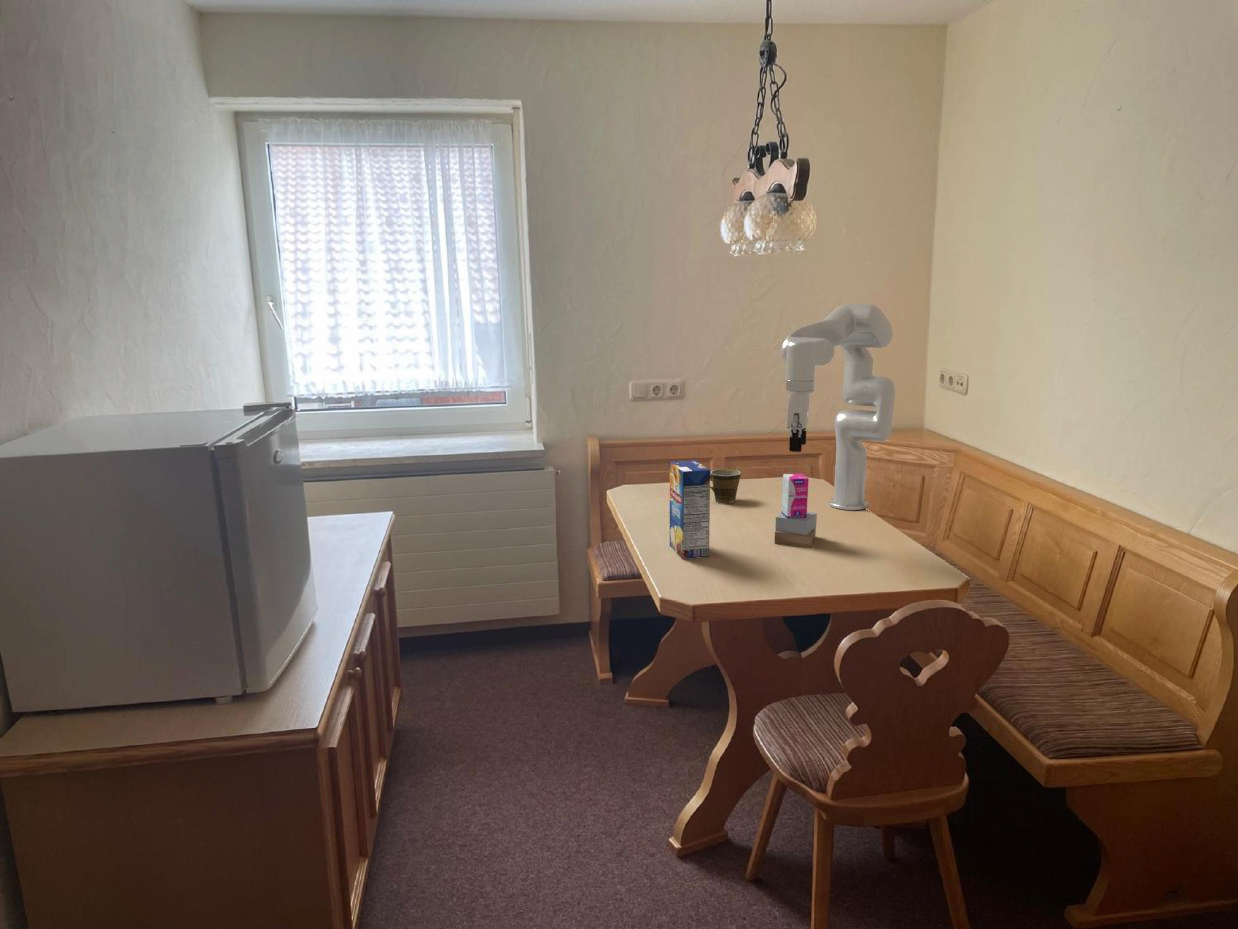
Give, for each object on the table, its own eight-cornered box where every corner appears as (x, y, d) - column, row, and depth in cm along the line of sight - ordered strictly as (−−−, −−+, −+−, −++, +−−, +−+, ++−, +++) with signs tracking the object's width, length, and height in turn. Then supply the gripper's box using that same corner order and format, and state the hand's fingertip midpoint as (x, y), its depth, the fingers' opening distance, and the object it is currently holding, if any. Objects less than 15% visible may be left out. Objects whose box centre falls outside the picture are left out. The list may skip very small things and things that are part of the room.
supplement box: (787, 518, 221) (788, 478, 219) (781, 512, 227) (782, 473, 225) (807, 517, 222) (808, 477, 219) (801, 512, 228) (802, 473, 225)
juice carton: (669, 545, 223) (669, 462, 218) (694, 543, 225) (695, 460, 220) (682, 559, 212) (683, 471, 207) (709, 557, 214) (710, 469, 208)
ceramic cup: (739, 497, 272) (740, 469, 270) (740, 505, 262) (741, 476, 260) (701, 497, 274) (701, 468, 271) (701, 504, 264) (701, 475, 262)
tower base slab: (780, 535, 233) (780, 522, 232) (815, 538, 229) (815, 525, 229) (774, 545, 224) (774, 532, 223) (810, 549, 220) (811, 535, 219)
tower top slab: (785, 522, 232) (786, 509, 231) (816, 526, 227) (816, 513, 226) (775, 530, 224) (775, 517, 223) (806, 535, 220) (807, 521, 219)
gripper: (790, 381, 226) (788, 441, 230) (781, 390, 210) (779, 453, 214) (817, 382, 223) (815, 442, 227) (810, 391, 207) (807, 455, 211)
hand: (797, 447), depth 221 cm, fingers open, 9 cm apart
